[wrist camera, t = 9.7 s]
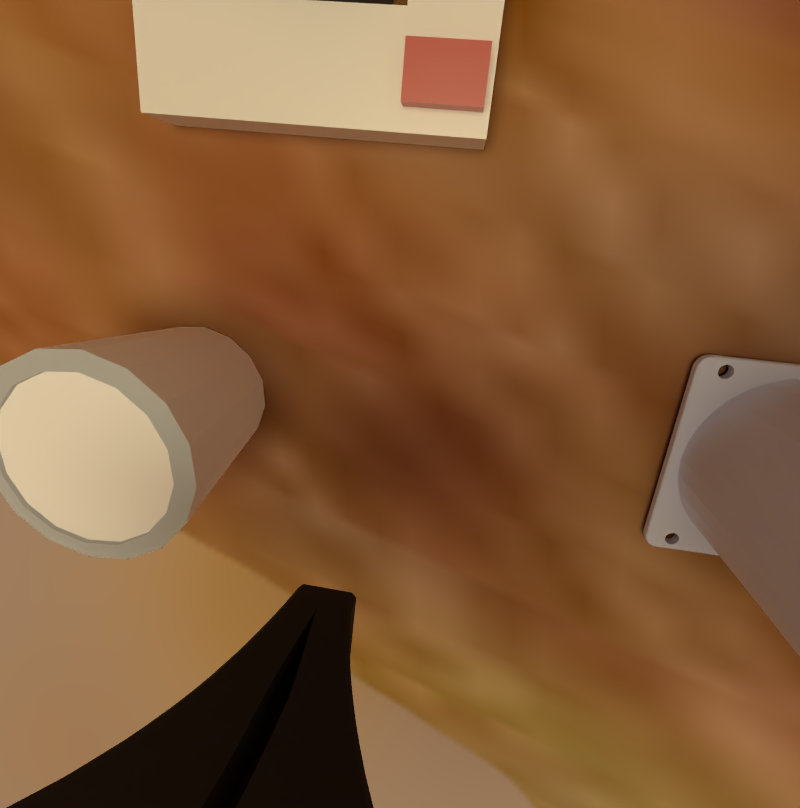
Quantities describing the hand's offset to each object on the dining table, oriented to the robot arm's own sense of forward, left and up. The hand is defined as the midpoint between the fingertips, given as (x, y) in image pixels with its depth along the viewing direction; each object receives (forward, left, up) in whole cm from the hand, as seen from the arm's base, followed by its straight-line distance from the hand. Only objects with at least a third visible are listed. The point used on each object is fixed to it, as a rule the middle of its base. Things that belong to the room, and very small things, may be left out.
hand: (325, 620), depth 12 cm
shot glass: (+8, -2, -10) cm, 13 cm away
